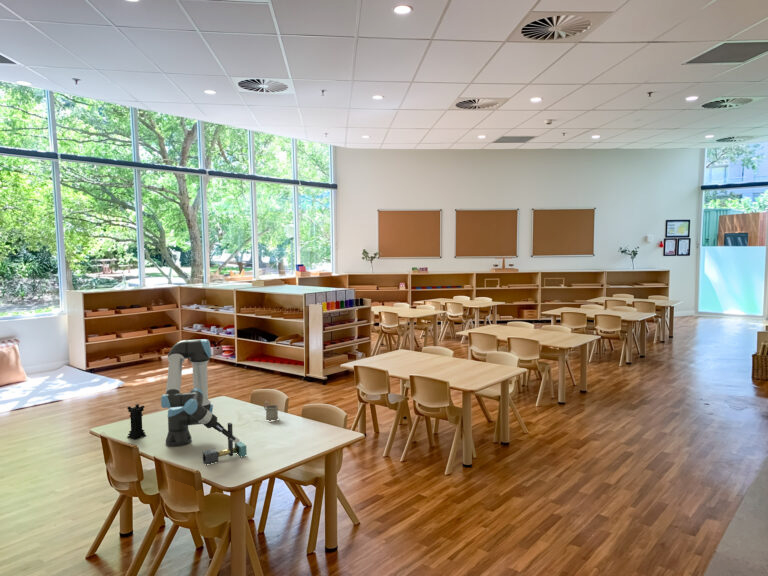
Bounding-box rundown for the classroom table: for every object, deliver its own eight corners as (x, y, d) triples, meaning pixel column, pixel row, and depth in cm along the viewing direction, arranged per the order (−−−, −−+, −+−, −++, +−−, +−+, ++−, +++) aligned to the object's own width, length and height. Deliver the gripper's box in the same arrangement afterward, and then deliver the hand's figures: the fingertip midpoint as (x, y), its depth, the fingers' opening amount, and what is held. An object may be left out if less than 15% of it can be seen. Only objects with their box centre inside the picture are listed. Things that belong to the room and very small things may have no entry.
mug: (281, 419, 361) (281, 403, 360) (270, 423, 354) (270, 406, 353) (269, 415, 371) (269, 399, 370) (258, 418, 363) (258, 402, 363)
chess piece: (138, 433, 334) (137, 404, 333) (146, 435, 330) (145, 405, 328) (127, 437, 327) (126, 407, 326) (134, 439, 323) (133, 409, 322)
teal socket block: (234, 453, 300) (234, 442, 300) (240, 451, 302) (240, 441, 302) (240, 457, 293) (240, 447, 293) (246, 456, 296) (246, 445, 295)
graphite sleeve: (202, 462, 287) (202, 451, 286) (214, 459, 291) (214, 448, 291) (206, 465, 282) (205, 454, 282) (218, 462, 287) (218, 451, 286)
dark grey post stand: (212, 459, 289) (211, 426, 288) (239, 452, 299) (239, 420, 298) (214, 460, 286) (213, 427, 285) (241, 453, 297) (241, 421, 296)
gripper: (198, 421, 289) (227, 442, 301) (208, 428, 277) (238, 450, 288) (207, 410, 292) (235, 431, 304) (217, 417, 280) (246, 439, 291)
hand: (236, 441), depth 296 cm, fingers closed on dark grey post stand, 3 cm apart
